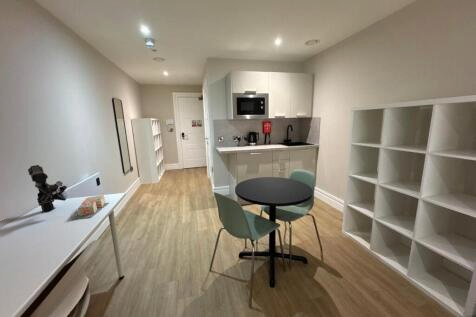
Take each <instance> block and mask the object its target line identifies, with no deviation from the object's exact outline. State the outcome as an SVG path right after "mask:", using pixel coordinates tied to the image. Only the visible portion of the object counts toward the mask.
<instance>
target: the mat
mask: <svg viewBox="0 0 476 317" xmlns="http://www.w3.org/2000/svg"><path fill="white" fill-rule="evenodd" d="M109 204H110V202H105V203H104V205H103V207H101V208H97V210H96V212H95V213H94V214H88V215H83V216H80V215H79V213H78V214H77V215H75V216H74V217H72V218H71V221H72V220H73V221H74V220H82V219H83V220H84V219H92V218H93V217H94V216H95V215H96V214H98V213H99V212H100V211H102V210H103V209H104V208H105V207H106V206H108V205H109ZM102 208H103V209H102Z"/></svg>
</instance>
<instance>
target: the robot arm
mask: <svg viewBox="0 0 476 317" xmlns="http://www.w3.org/2000/svg"><path fill="white" fill-rule="evenodd" d="M27 172H28V175H29V176H30V178H31V181H32V183H33V182H34V187H35V188H37V190H38V193H37V198H36V199H37V203H38V206H40V208H41V211H40V213H49V212H51V211H53V210H55V209H56V208H57V207H55V206H54V202H55V201H56V200H58V201H63V202H65V201H66V200H67V199H66V197H65V196H64V194H63V193H64V192H65V191H66V190H67V188H68V186H66V185H63V182H62V181H60V180H58V181H55V183H53V184H49V183H48V182H47V179H48V178H49V176H48V175H47V174H46V173H45V172H44V169H43V167H42V166H40V165H39V164H36V165H31V166H29V168H28V169H27Z"/></svg>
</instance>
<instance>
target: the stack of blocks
mask: <svg viewBox="0 0 476 317" xmlns="http://www.w3.org/2000/svg"><path fill="white" fill-rule="evenodd" d="M104 203H106V200H105V196H104V194H100V195H96V196H91V197H90V196H89V197H86V198H84V200H83V201H82V203H81V204H80V205H79V207H78V208H77V212H78V214H79V215H80V216H83V215H88V214H94V213H95V212H96V210H97V208H101V207H103V205H104Z"/></svg>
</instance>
